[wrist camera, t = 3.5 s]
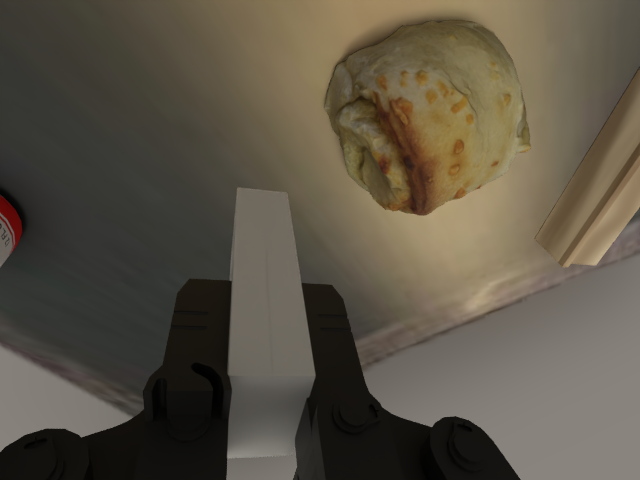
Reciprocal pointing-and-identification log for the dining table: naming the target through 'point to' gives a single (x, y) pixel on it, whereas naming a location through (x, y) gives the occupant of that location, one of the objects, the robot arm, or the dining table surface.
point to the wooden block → (599, 190)
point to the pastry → (428, 114)
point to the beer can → (8, 229)
